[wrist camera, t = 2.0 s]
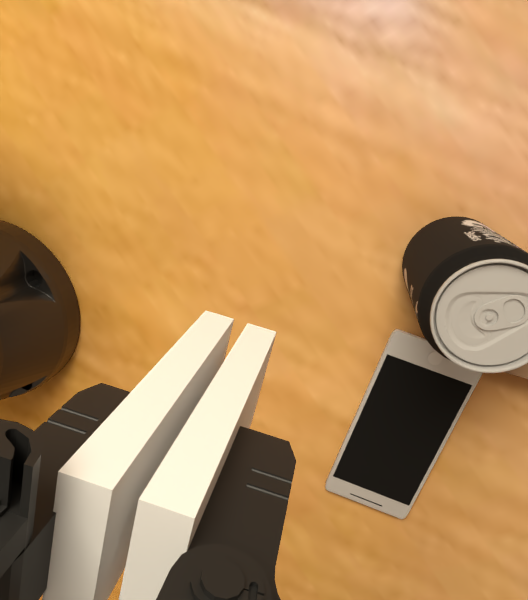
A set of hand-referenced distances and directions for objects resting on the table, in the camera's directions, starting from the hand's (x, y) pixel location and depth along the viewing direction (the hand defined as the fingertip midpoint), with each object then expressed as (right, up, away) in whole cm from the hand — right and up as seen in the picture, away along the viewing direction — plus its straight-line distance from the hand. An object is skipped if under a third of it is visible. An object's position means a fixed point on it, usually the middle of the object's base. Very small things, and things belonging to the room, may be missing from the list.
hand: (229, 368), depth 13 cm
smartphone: (+12, -8, +27) cm, 31 cm away
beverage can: (+14, +5, +22) cm, 27 cm away
